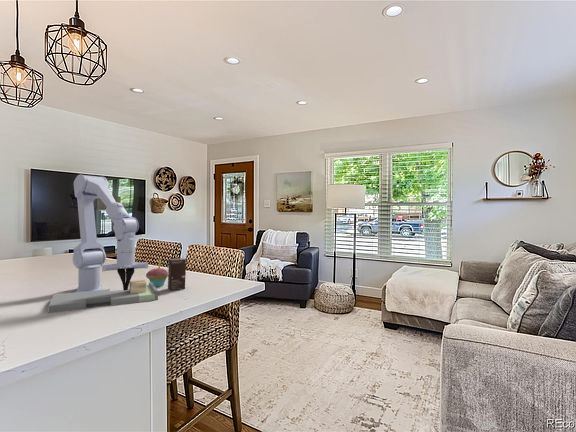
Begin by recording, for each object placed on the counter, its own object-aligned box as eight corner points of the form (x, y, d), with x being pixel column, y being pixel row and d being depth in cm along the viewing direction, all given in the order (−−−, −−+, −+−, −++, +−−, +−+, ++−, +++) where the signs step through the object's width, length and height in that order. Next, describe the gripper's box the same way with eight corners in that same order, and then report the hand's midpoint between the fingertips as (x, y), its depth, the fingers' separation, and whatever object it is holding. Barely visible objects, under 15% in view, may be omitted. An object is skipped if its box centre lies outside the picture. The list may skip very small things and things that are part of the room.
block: (129, 290, 116) (129, 280, 116) (144, 288, 119) (144, 279, 119) (130, 293, 112) (130, 283, 112) (146, 291, 115) (146, 282, 115)
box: (170, 290, 125) (170, 260, 124) (167, 288, 128) (168, 258, 128) (186, 289, 128) (186, 259, 128) (182, 286, 132) (183, 257, 131)
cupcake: (172, 285, 134) (172, 256, 134) (154, 289, 127) (154, 259, 127) (159, 282, 139) (160, 254, 138) (141, 286, 131) (141, 257, 131)
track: (54, 300, 109) (54, 290, 109) (151, 290, 125) (151, 281, 125) (48, 312, 96) (48, 302, 96) (157, 299, 112) (158, 290, 112)
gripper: (102, 254, 106) (102, 294, 107) (149, 251, 114) (149, 289, 114) (102, 251, 112) (102, 290, 113) (147, 249, 120) (146, 285, 120)
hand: (125, 289), depth 114 cm, fingers closed
